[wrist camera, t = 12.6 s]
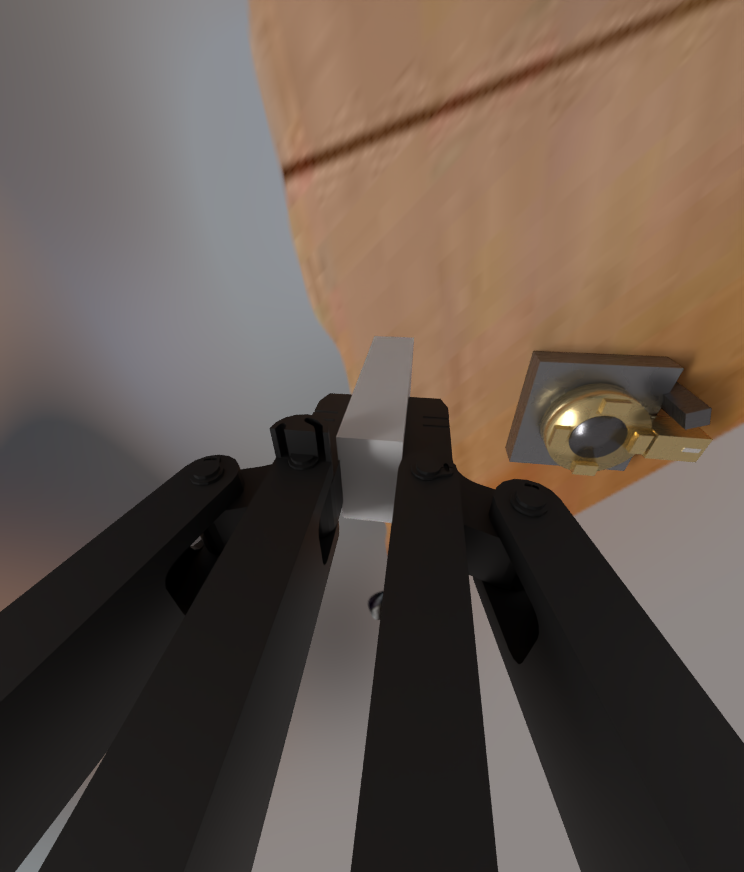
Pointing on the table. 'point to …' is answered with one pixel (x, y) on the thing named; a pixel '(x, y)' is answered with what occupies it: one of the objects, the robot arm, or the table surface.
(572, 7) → the table surface
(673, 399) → the housing
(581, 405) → the brass ring with ball
